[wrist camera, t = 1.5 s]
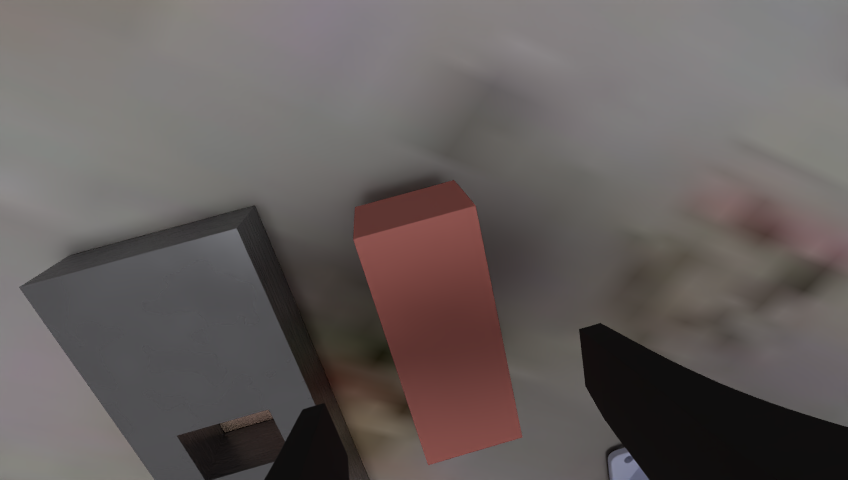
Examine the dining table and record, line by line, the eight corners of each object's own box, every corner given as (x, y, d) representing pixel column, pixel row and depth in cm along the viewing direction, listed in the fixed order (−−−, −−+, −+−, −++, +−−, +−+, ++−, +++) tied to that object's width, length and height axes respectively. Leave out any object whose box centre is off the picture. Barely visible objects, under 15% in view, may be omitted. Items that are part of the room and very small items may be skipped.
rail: (254, 205, 16) (236, 228, 14) (402, 560, 25) (407, 610, 22) (69, 255, 16) (18, 287, 13) (283, 596, 24) (275, 651, 22)
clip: (443, 168, 16) (475, 205, 12) (485, 352, 20) (522, 437, 15) (355, 191, 16) (353, 239, 12) (412, 373, 20) (428, 465, 15)
